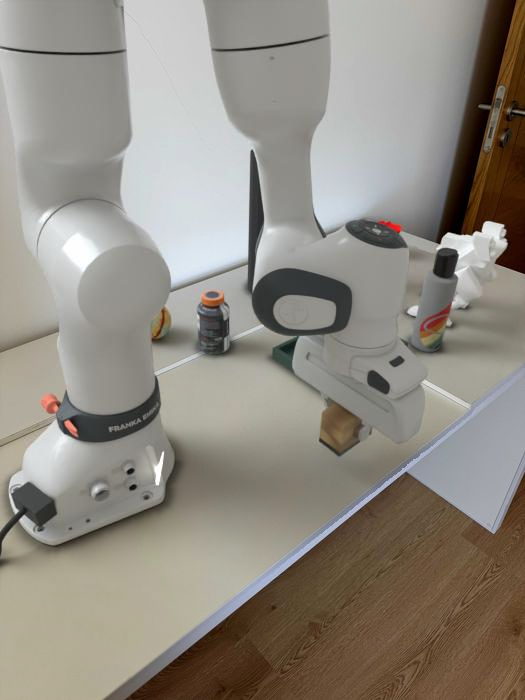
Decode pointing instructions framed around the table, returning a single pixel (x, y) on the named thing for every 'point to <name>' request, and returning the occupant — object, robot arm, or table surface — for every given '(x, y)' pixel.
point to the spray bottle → (436, 301)
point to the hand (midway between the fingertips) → (346, 426)
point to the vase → (254, 217)
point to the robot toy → (473, 262)
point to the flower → (392, 226)
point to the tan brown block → (339, 429)
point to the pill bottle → (213, 323)
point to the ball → (161, 324)
